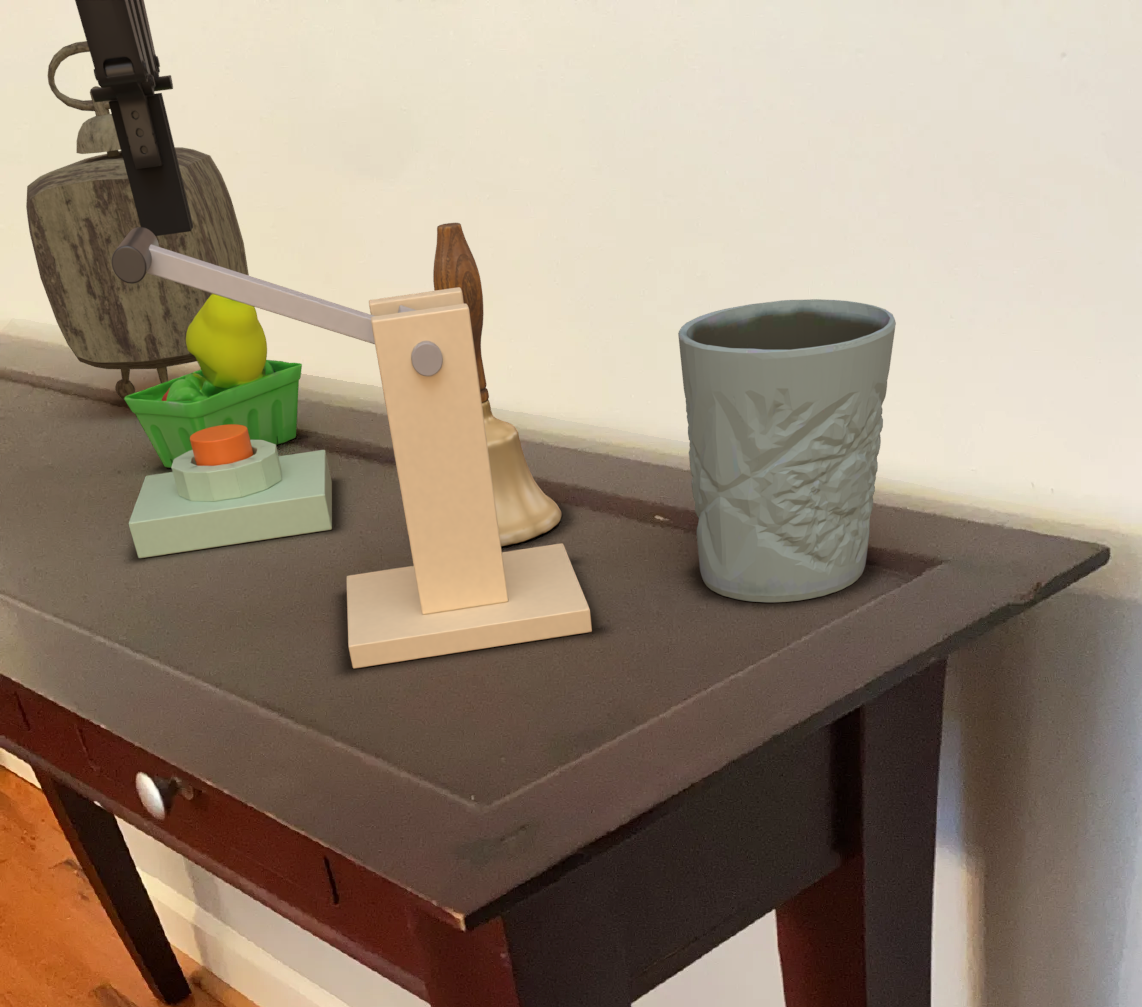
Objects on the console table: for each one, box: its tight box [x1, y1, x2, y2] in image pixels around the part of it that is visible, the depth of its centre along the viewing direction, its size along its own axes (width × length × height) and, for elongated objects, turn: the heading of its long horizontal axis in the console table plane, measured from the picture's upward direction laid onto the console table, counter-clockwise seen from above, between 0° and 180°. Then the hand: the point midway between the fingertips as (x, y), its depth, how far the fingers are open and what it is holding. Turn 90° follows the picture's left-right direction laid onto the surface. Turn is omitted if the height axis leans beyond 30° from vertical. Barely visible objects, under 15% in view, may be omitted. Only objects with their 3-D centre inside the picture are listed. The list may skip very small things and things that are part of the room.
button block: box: [127, 440, 333, 559], centre depth 88 cm, size 12×10×4 cm
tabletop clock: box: [25, 40, 250, 400], centre depth 108 cm, size 14×9×25 cm, turn 84°
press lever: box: [111, 227, 416, 345], centre depth 63 cm, size 15×6×2 cm, turn 98°
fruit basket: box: [123, 294, 303, 469], centre depth 99 cm, size 11×9×11 cm
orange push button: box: [190, 424, 254, 466], centre depth 87 cm, size 4×4×2 cm
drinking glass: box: [677, 298, 897, 603], centre depth 69 cm, size 10×10×12 cm
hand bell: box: [432, 222, 562, 547], centre depth 78 cm, size 8×8×16 cm
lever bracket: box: [345, 287, 593, 669], centre depth 68 cm, size 12×10×15 cm
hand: (168, 231), depth 79 cm, fingers closed
